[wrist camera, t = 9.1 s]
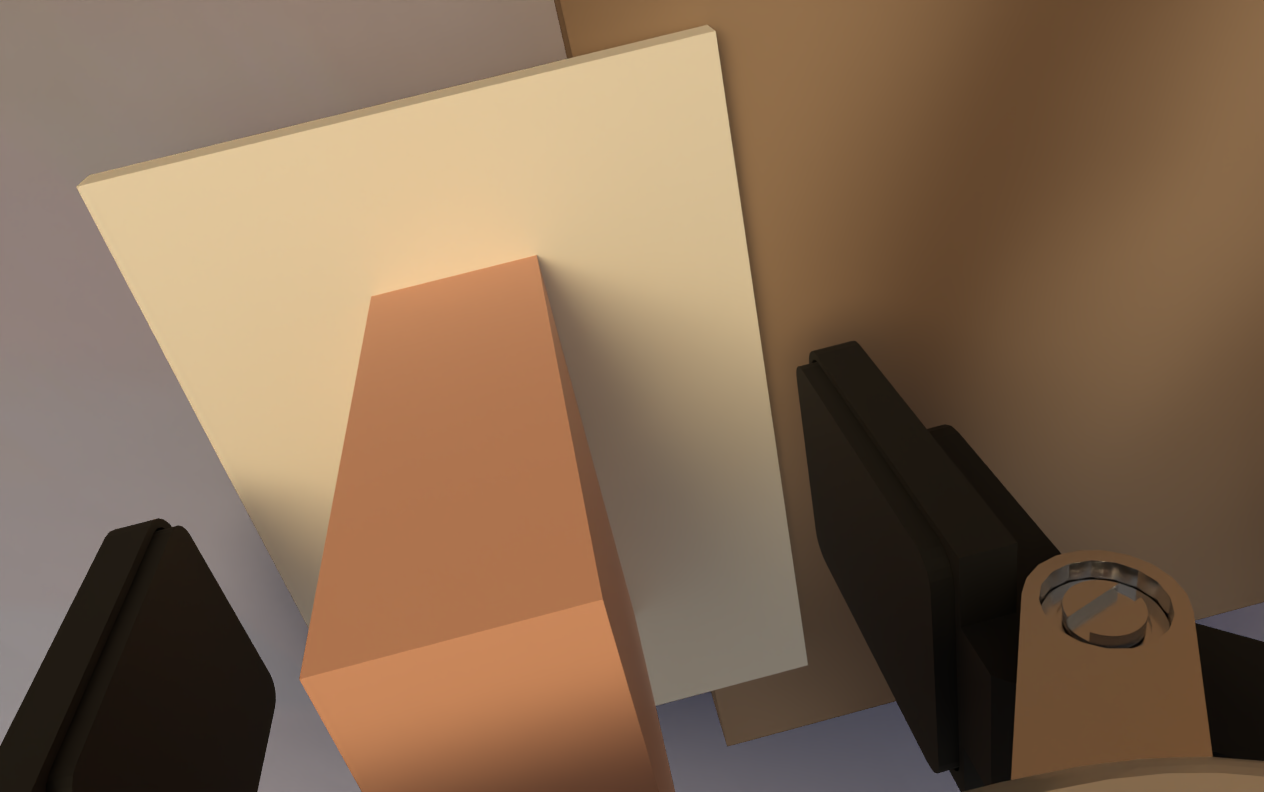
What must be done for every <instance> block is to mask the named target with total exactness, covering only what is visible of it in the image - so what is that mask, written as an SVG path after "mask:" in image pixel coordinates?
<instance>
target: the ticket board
mask: <svg viewBox="0 0 1264 792" xmlns="http://www.w3.org/2000/svg"><path fill="white" fill-rule="evenodd" d="M554 2H555V6H556V11H557V15H558V19H559V24H560V28H561V33H562V37H563V42H564V46H565V50H566V55H567V59H569V58H573V57H577V56H581V55H585V54H589V53H593V52H597V51H602V50H606V49H610V48H614V47H618V46H622V45H626V44H630V43H634V42H638V41H643V40H647V39H651V38H655V37H659V36H663V35H667V34H671V33H675V32H680V31H684V30H688V29H692V28H696V27H700V26H704V25H708V26H710V27H711V28H712V29H714V30H715V31H716V37H717V44H718V51H719V58H720V65H721V72H722V78H723V85H724V92H725V99H726V106H727V113H728V120H729V127H730V133H731V140H732V147H733V154H734V161H735V168H736V175H737V181H738V188H739V195H740V202H741V209H742V216H743V223H744V229H745V236H746V243H747V250H748V257H749V264H750V271H751V277H752V284H753V291H754V298H755V305H756V312H757V319H758V326H759V332H760V339H761V346H762V353H763V360H764V367H765V374H766V380H767V387H768V394H769V401H770V408H771V415H772V422H773V428H774V435H775V442H776V449H777V456H778V463H779V470H780V477H781V483H782V490H783V497H784V504H785V511H786V518H787V525H788V531H789V538H790V545H791V552H792V559H793V566H794V573H795V579H796V586H797V593H798V600H799V607H800V614H801V621H802V627H803V634H804V641H805V648H806V655H807V662H808V665H807V666H803V667H799V668H796V669H792V670H788V671H784V672H781V673H777V674H773V675H769V676H766V677H762V678H758V679H754V680H751V681H747V682H743V683H739V684H736V685H732V686H728V687H724V688H721V689H717V690H713V691H711V693H712V697H713V700H714V704H715V707H716V710H717V714H718V717H719V720H720V724H721V727H722V730H723V734H724V737H725V741H726V744H727V746H731V745H735V744H738V743H742V742H746V741H750V740H753V739H757V738H761V737H764V736H768V735H772V734H776V733H779V732H783V731H787V730H790V729H794V728H798V727H802V726H805V725H809V724H813V723H816V722H820V721H824V720H828V719H831V718H835V717H839V716H842V715H846V714H850V713H854V712H857V711H861V710H865V709H868V708H872V707H876V706H879V705H883V704H887V703H891V702H894V701H896V700H895V698H894V696H893V694H892V692H891V690H890V688H889V686H888V684H887V682H886V680H885V678H884V676H883V674H882V672H881V670H880V668H879V666H878V664H877V662H876V660H875V658H874V656H873V654H872V653H871V651H870V649H869V647H868V645H867V643H866V641H865V639H864V637H863V635H862V633H861V631H860V629H859V627H858V625H857V623H856V621H855V619H854V617H853V615H852V613H851V611H850V609H849V607H848V605H847V603H846V602H845V600H844V598H843V596H842V594H841V592H840V590H839V588H838V586H837V584H836V582H835V580H834V578H833V576H832V574H831V572H830V570H829V568H828V566H827V564H826V562H825V560H824V558H823V555H822V553H821V550H820V547H819V543H818V539H817V535H816V529H815V521H814V513H813V505H812V497H811V489H810V481H809V473H808V465H807V457H806V449H805V442H804V434H803V426H802V418H801V410H800V402H799V394H798V386H797V377H796V369H797V367H798V366H802V365H806V364H809V354H810V352H811V351H814V350H818V349H822V348H826V347H830V346H834V345H838V344H841V343H845V342H849V341H856V342H857V343H859V344H860V346H861V347H862V348H863V349H864V351H865V352H866V353H867V354H868V356H869V357H870V358H871V360H872V361H873V362H874V363H875V365H876V366H877V367H878V368H879V370H880V371H881V372H882V373H883V375H884V376H885V377H886V378H887V380H888V381H889V382H890V383H891V385H892V386H893V387H894V388H895V390H896V391H897V392H898V393H899V395H900V396H901V397H902V398H903V400H904V401H905V402H906V403H907V405H908V406H909V407H910V408H911V410H912V411H913V412H914V413H915V415H916V416H917V417H918V418H919V420H920V421H921V422H922V424H923V425H924V426H925V427H926V429H929V428H932V427H936V426H940V425H944V424H946V425H950V426H952V427H953V428H954V429H956V430H957V431H958V432H959V433H960V434H961V436H962V437H963V438H964V439H965V440H966V442H967V443H968V444H969V445H970V446H971V447H972V449H973V450H974V451H975V452H976V453H977V455H978V456H979V457H980V458H981V459H982V460H983V462H984V463H985V464H986V465H987V466H988V468H989V469H990V470H991V471H992V472H993V473H994V475H995V476H996V477H997V478H998V479H999V481H1000V482H1001V483H1002V484H1003V485H1004V486H1005V488H1006V489H1007V490H1008V491H1009V492H1010V494H1011V495H1012V496H1013V497H1014V498H1015V499H1016V501H1017V502H1018V503H1019V504H1020V505H1021V507H1022V508H1023V509H1024V510H1025V511H1026V512H1027V514H1028V515H1029V516H1030V517H1031V518H1032V520H1033V521H1034V522H1035V523H1036V524H1037V525H1038V527H1039V528H1040V529H1041V530H1042V531H1043V533H1044V534H1045V535H1046V536H1047V537H1048V538H1049V540H1050V541H1051V542H1052V543H1053V544H1054V546H1055V547H1056V548H1057V549H1058V550H1059V551H1060V553H1061V554H1065V553H1069V552H1074V551H1078V550H1104V551H1110V552H1115V553H1121V554H1126V555H1130V556H1133V557H1135V558H1138V559H1140V560H1143V561H1145V562H1148V563H1151V564H1153V565H1154V566H1156V567H1157V568H1159V569H1160V570H1162V571H1163V572H1165V573H1166V574H1168V575H1169V576H1171V577H1173V579H1174V580H1175V581H1176V582H1177V583H1178V584H1179V585H1180V587H1181V588H1182V589H1183V590H1184V591H1185V592H1186V593H1187V595H1188V598H1189V601H1190V603H1191V606H1192V609H1193V611H1194V618H1195V620H1199V619H1202V618H1206V617H1210V616H1213V615H1217V614H1221V613H1225V612H1228V611H1232V610H1236V609H1239V608H1243V607H1247V606H1251V605H1254V604H1258V603H1262V602H1264V0H554Z"/></svg>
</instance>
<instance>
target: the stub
mask: <svg viewBox="0 0 1264 792" xmlns="http://www.w3.org/2000/svg"><path fill="white" fill-rule="evenodd" d="M77 189H78V191H79V193H80V195H81V197H82V198H83V200H84V202H85V204H86V206H87V208H88V210H89V212H90V214H91V216H92V217H93V219H94V221H95V223H96V225H97V227H98V229H99V231H100V233H101V235H102V236H103V238H104V240H105V242H106V244H107V246H108V248H109V250H110V252H111V254H112V255H113V257H114V259H115V261H116V263H117V265H118V267H119V269H120V271H121V273H122V275H123V276H124V278H125V280H126V282H127V284H128V286H129V288H130V290H131V292H132V294H133V295H134V297H135V299H136V301H137V303H138V305H139V307H140V309H141V311H142V313H143V314H144V316H145V318H146V320H147V322H148V324H149V326H150V328H151V330H152V332H153V334H154V335H155V337H156V339H157V341H158V343H159V345H160V347H161V349H162V351H163V353H164V354H165V356H166V358H167V360H168V362H169V364H170V366H171V368H172V370H173V372H174V373H175V375H176V377H177V379H178V381H179V383H180V385H181V387H182V389H183V391H184V392H185V394H186V396H187V398H188V400H189V402H190V404H191V406H192V408H193V410H194V412H195V413H196V415H197V417H198V419H199V421H200V423H201V425H202V427H203V429H204V431H205V432H206V434H207V436H208V438H209V440H210V442H211V444H212V446H213V448H214V450H215V451H216V453H217V455H218V457H219V459H220V461H221V463H222V465H223V467H224V469H225V471H226V472H227V474H228V476H229V478H230V480H231V482H232V484H233V486H234V488H235V490H236V491H237V493H238V495H239V497H240V499H241V501H242V503H243V505H244V507H245V509H246V510H247V512H248V514H249V516H250V518H251V520H252V522H253V524H254V526H255V528H256V529H257V531H258V533H259V535H260V537H261V539H262V541H263V543H264V545H265V547H266V549H267V550H268V552H269V554H270V556H271V558H272V560H273V562H274V564H275V566H276V568H277V569H278V571H279V573H280V575H281V577H282V579H283V581H284V583H285V585H286V587H287V588H288V590H289V592H290V594H291V596H292V598H293V600H294V602H295V604H296V606H297V608H298V609H299V611H300V613H301V615H302V617H303V619H304V621H305V623H306V625H307V627H308V628H309V631H308V636H307V642H306V647H305V652H304V658H303V663H302V668H301V674H300V681H301V683H302V685H303V687H304V688H305V690H306V692H307V694H308V696H309V697H310V699H311V701H312V703H313V705H314V706H315V708H316V710H317V712H318V714H319V715H320V717H321V719H322V721H323V723H324V724H325V726H326V728H327V730H328V732H329V733H330V735H331V737H332V739H333V741H334V742H335V744H336V746H337V748H338V750H339V752H340V753H341V755H342V757H343V759H344V761H345V762H346V764H347V766H348V768H349V770H350V771H351V773H352V775H353V777H354V779H355V780H356V782H357V784H358V786H359V788H360V789H361V791H362V792H675V789H674V785H673V780H672V776H671V771H670V767H669V763H668V758H667V754H666V750H665V745H664V741H663V737H662V732H661V728H660V723H659V719H658V715H657V710H656V706H657V705H661V704H665V703H668V702H672V701H676V700H680V699H683V698H687V697H691V696H695V695H698V694H702V693H706V692H710V691H713V690H717V689H721V688H724V687H728V686H732V685H736V684H739V683H743V682H747V681H751V680H754V679H758V678H762V677H766V676H769V675H773V674H777V673H781V672H784V671H788V670H792V669H796V668H799V667H803V666H807V665H808V662H807V655H806V648H805V641H804V634H803V627H802V621H801V614H800V607H799V600H798V593H797V586H796V579H795V573H794V566H793V559H792V552H791V545H790V538H789V531H788V525H787V518H786V511H785V504H784V497H783V490H782V483H781V477H780V470H779V463H778V456H777V449H776V442H775V435H774V428H773V422H772V415H771V408H770V401H769V394H768V387H767V380H766V374H765V367H764V360H763V353H762V346H761V339H760V332H759V326H758V319H757V312H756V305H755V298H754V291H753V284H752V277H751V271H750V264H749V257H748V250H747V243H746V236H745V229H744V223H743V216H742V209H741V202H740V195H739V188H738V181H737V175H736V168H735V161H734V154H733V147H732V140H731V133H730V127H729V120H728V113H727V106H726V99H725V92H724V85H723V78H722V72H721V65H720V58H719V51H718V44H717V37H716V31H715V30H714V29H712V28H711V27H710V26H708V25H704V26H700V27H696V28H692V29H688V30H684V31H680V32H675V33H671V34H667V35H663V36H659V37H655V38H651V39H647V40H643V41H638V42H634V43H630V44H626V45H622V46H618V47H614V48H610V49H606V50H602V51H597V52H593V53H589V54H585V55H581V56H577V57H573V58H569V59H565V60H560V61H556V62H552V63H548V64H544V65H540V66H536V67H532V68H528V69H524V70H519V71H515V72H511V73H507V74H503V75H499V76H495V77H491V78H487V79H482V80H478V81H474V82H470V83H466V84H462V85H458V86H454V87H450V88H446V89H441V90H437V91H433V92H429V93H425V94H421V95H417V96H413V97H409V98H404V99H400V100H396V101H392V102H388V103H384V104H380V105H376V106H372V107H368V108H363V109H359V110H355V111H351V112H347V113H343V114H339V115H335V116H331V117H326V118H322V119H318V120H314V121H310V122H306V123H302V124H298V125H294V126H290V127H285V128H281V129H277V130H273V131H269V132H265V133H261V134H257V135H253V136H248V137H244V138H240V139H236V140H232V141H228V142H224V143H220V144H216V145H212V146H207V147H203V148H199V149H195V150H191V151H187V152H183V153H179V154H175V155H170V156H166V157H162V158H158V159H154V160H150V161H146V162H142V163H138V164H134V165H129V166H125V167H121V168H117V169H113V170H109V171H105V172H101V173H97V174H92V175H89V176H88V177H86V178H85V179H84V180H83V181H82V182H81V183H80V184H79V185H78V186H77Z"/></svg>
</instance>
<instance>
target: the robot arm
mask: <svg viewBox="0 0 1264 792" xmlns="http://www.w3.org/2000/svg"><path fill="white" fill-rule="evenodd" d="M796 377H797V386H798V394H799V402H800V410H801V418H802V426H803V434H804V442H805V449H806V457H807V465H808V473H809V481H810V489H811V497H812V505H813V513H814V521H815V529H816V535H817V539H818V543H819V547H820V550H821V553H822V555H823V558H824V560H825V562H826V564H827V566H828V568H829V570H830V572H831V574H832V576H833V578H834V580H835V582H836V584H837V586H838V588H839V590H840V592H841V594H842V596H843V598H844V600H845V602H846V603H847V605H848V607H849V609H850V611H851V613H852V615H853V617H854V619H855V621H856V623H857V625H858V627H859V629H860V631H861V633H862V635H863V637H864V639H865V641H866V643H867V645H868V647H869V649H870V651H871V653H872V654H873V656H874V658H875V660H876V662H877V664H878V666H879V668H880V670H881V672H882V674H883V676H884V678H885V680H886V682H887V684H888V686H889V688H890V690H891V692H892V694H893V696H894V698H895V700H896V702H897V704H898V705H899V707H900V709H901V711H902V713H903V715H904V717H905V719H906V721H907V723H908V725H909V727H910V729H911V731H912V733H913V735H914V737H915V739H916V741H917V743H918V745H919V747H920V749H921V751H922V753H923V755H924V756H925V758H926V760H927V762H928V764H929V766H930V767H931V769H932V770H933V771H934V772H935V773H940V772H944V771H947V770H950V772H951V774H952V776H953V778H954V780H955V782H956V784H957V786H958V787H959V789H960V791H961V792H1264V642H1262V641H1258V640H1255V639H1251V638H1247V637H1244V636H1240V635H1236V634H1233V633H1229V632H1226V631H1222V630H1218V629H1215V628H1211V627H1207V626H1204V625H1200V624H1197V623H1195V618H1194V611H1193V609H1192V606H1191V603H1190V601H1189V598H1188V595H1187V593H1186V592H1185V591H1184V590H1183V589H1182V588H1181V587H1180V585H1179V584H1178V583H1177V582H1176V581H1175V580H1174V579H1173V577H1171V576H1169V575H1168V574H1166V573H1165V572H1163V571H1162V570H1160V569H1159V568H1157V567H1156V566H1154V565H1153V564H1151V563H1148V562H1145V561H1143V560H1140V559H1138V558H1135V557H1133V556H1130V555H1126V554H1121V553H1115V552H1110V551H1104V550H1078V551H1074V552H1069V553H1065V554H1061V553H1060V551H1059V550H1058V549H1057V548H1056V547H1055V546H1054V544H1053V543H1052V542H1051V541H1050V540H1049V538H1048V537H1047V536H1046V535H1045V534H1044V533H1043V531H1042V530H1041V529H1040V528H1039V527H1038V525H1037V524H1036V523H1035V522H1034V521H1033V520H1032V518H1031V517H1030V516H1029V515H1028V514H1027V512H1026V511H1025V510H1024V509H1023V508H1022V507H1021V505H1020V504H1019V503H1018V502H1017V501H1016V499H1015V498H1014V497H1013V496H1012V495H1011V494H1010V492H1009V491H1008V490H1007V489H1006V488H1005V486H1004V485H1003V484H1002V483H1001V482H1000V481H999V479H998V478H997V477H996V476H995V475H994V473H993V472H992V471H991V470H990V469H989V468H988V466H987V465H986V464H985V463H984V462H983V460H982V459H981V458H980V457H979V456H978V455H977V453H976V452H975V451H974V450H973V449H972V447H971V446H970V445H969V444H968V443H967V442H966V440H965V439H964V438H963V437H962V436H961V434H960V433H959V432H958V431H957V430H956V429H954V428H953V427H952V426H950V425H946V424H944V425H940V426H936V427H932V428H929V429H926V427H925V426H924V425H923V424H922V422H921V421H920V420H919V418H918V417H917V416H916V415H915V413H914V412H913V411H912V410H911V408H910V407H909V406H908V405H907V403H906V402H905V401H904V400H903V398H902V397H901V396H900V395H899V393H898V392H897V391H896V390H895V388H894V387H893V386H892V385H891V383H890V382H889V381H888V380H887V378H886V377H885V376H884V375H883V373H882V372H881V371H880V370H879V368H878V367H877V366H876V365H875V363H874V362H873V361H872V360H871V358H870V357H869V356H868V354H867V353H866V352H865V351H864V349H863V348H862V347H861V346H860V344H859V343H857V342H856V341H849V342H845V343H841V344H838V345H834V346H830V347H826V348H822V349H818V350H814V351H811V352H810V354H809V364H806V365H802V366H798V367H797V369H796ZM275 702H276V695H275V687H274V683H273V680H272V677H271V675H270V673H269V671H268V670H267V668H266V666H265V664H264V663H263V661H262V659H261V657H260V656H259V654H258V652H257V651H256V649H255V647H254V645H253V644H252V642H251V640H250V638H249V637H248V635H247V633H246V631H245V630H244V628H243V626H242V624H241V623H240V621H239V619H238V618H237V616H236V614H235V612H234V611H233V609H232V607H231V605H230V604H229V602H228V600H227V598H226V597H225V595H224V593H223V591H222V590H221V588H220V586H219V584H218V583H217V581H216V579H215V578H214V576H213V574H212V572H211V571H210V569H209V567H208V565H207V564H206V562H205V560H204V558H203V557H202V555H201V553H200V551H199V550H198V548H197V546H196V545H195V543H194V541H193V539H192V538H191V536H190V534H189V533H188V531H187V530H186V529H185V528H183V527H182V526H175V527H171V525H170V524H169V523H168V522H166V521H165V520H163V519H159V518H158V519H154V520H150V521H147V522H143V523H139V524H135V525H131V526H127V527H123V528H119V529H115V530H113V531H110V532H109V533H108V535H107V536H106V537H105V539H104V541H103V543H102V545H101V547H100V549H99V551H98V553H97V555H96V557H95V559H94V561H93V563H92V565H91V567H90V569H89V571H88V573H87V575H86V577H85V579H84V581H83V583H82V585H81V587H80V589H79V591H78V593H77V595H76V597H75V599H74V601H73V603H72V605H71V606H70V608H69V610H68V612H67V614H66V616H65V618H64V620H63V622H62V624H61V626H60V628H59V630H58V632H57V634H56V636H55V638H54V640H53V642H52V644H51V646H50V648H49V650H48V652H47V654H46V656H45V658H44V660H43V662H42V664H41V666H40V668H39V670H38V672H37V674H36V676H35V678H34V680H33V682H32V684H31V686H30V688H29V690H28V692H27V694H26V696H25V698H24V700H23V702H22V704H21V706H20V708H19V710H18V712H17V714H16V716H15V718H14V720H13V722H12V724H11V726H10V728H9V730H8V732H7V734H6V736H5V738H4V740H3V742H2V744H1V746H0V792H257V790H258V786H259V781H260V776H261V771H262V766H263V762H264V757H265V752H266V747H267V743H268V738H269V733H270V728H271V724H272V719H273V714H274V709H275Z"/></svg>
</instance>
